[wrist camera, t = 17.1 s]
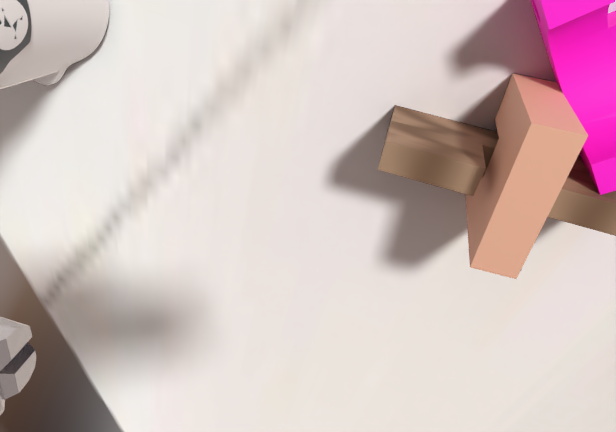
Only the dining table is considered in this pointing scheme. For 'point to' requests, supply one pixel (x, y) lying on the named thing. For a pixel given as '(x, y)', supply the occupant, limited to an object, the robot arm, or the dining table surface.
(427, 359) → the dining table surface
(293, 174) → the dining table surface
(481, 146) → the walnut rail
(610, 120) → the toy block
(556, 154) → the tan notched block
